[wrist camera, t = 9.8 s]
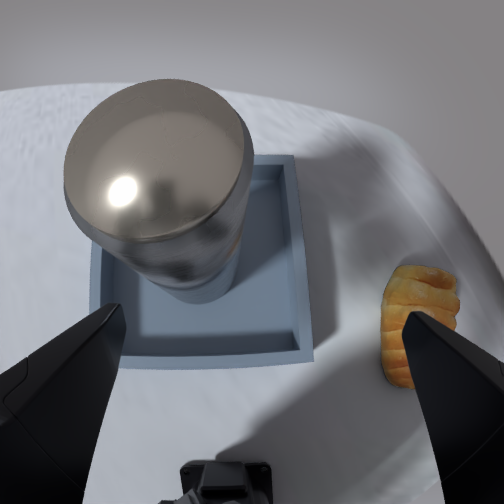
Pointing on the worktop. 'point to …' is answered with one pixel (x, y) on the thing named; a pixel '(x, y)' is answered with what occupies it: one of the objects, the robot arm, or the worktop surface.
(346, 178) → the worktop surface
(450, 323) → the pastry
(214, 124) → the canister
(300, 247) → the bin
